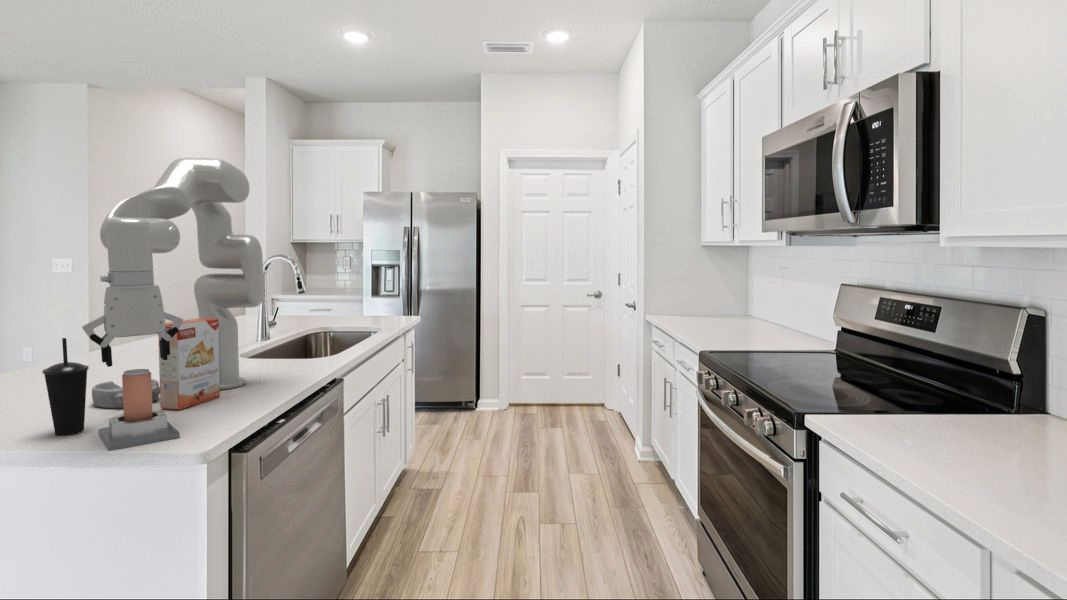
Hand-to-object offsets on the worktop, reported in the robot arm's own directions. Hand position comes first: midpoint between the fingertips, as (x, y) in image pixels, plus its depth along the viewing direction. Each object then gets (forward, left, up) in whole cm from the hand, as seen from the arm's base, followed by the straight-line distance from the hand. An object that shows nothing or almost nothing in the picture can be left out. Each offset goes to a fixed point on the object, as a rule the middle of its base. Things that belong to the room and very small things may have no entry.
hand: (137, 362), depth 125 cm
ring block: (+1, 0, -15) cm, 15 cm away
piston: (+1, 0, -14) cm, 14 cm away
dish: (-32, +3, -16) cm, 36 cm away
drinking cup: (-11, -11, -16) cm, 22 cm away
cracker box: (-21, +15, -16) cm, 30 cm away
